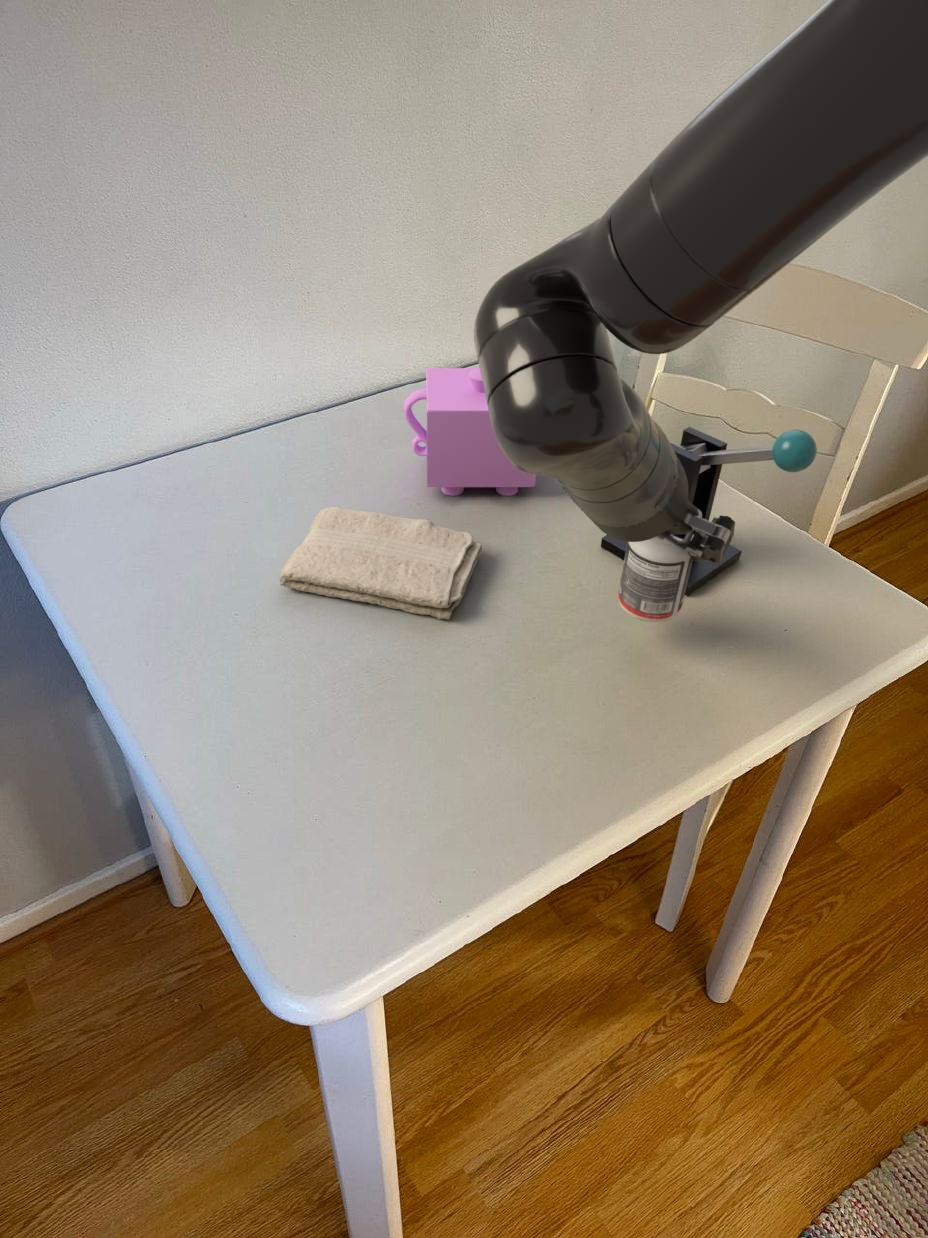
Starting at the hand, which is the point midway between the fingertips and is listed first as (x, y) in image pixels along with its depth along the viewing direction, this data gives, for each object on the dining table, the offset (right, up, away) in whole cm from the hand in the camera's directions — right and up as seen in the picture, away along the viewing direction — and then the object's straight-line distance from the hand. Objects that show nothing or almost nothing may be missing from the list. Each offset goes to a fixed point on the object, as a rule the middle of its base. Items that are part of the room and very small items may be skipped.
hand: (669, 537), depth 77 cm
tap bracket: (+3, 0, +15) cm, 15 cm away
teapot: (-15, +9, +26) cm, 31 cm away
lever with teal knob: (+8, +6, +4) cm, 11 cm away
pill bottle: (-1, -6, +3) cm, 7 cm away
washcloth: (-26, -2, +12) cm, 28 cm away
